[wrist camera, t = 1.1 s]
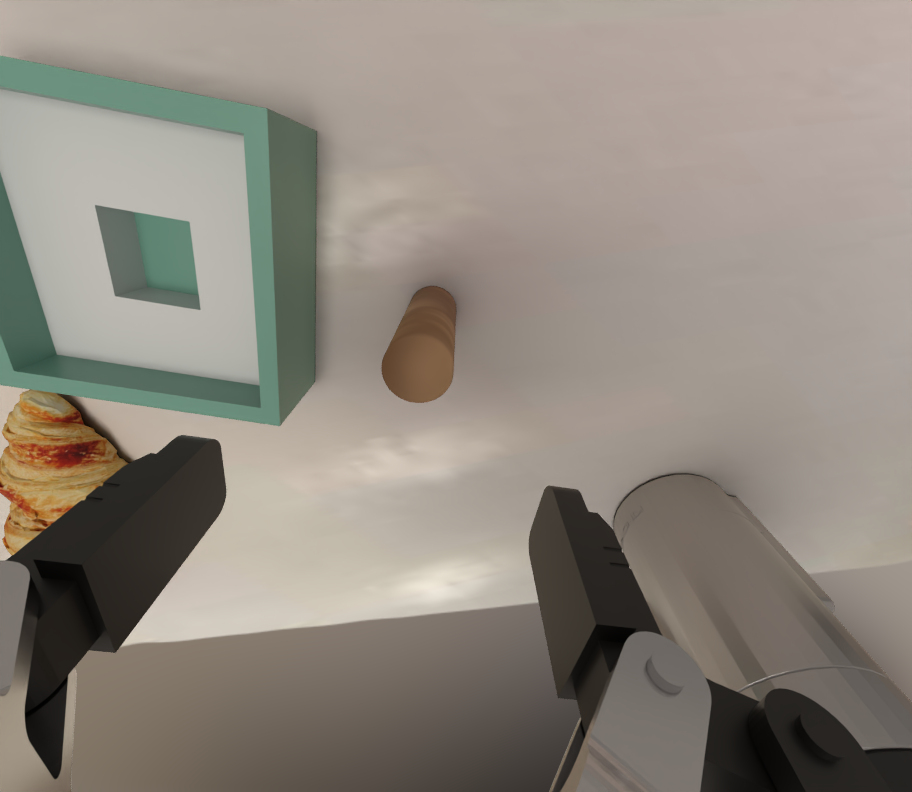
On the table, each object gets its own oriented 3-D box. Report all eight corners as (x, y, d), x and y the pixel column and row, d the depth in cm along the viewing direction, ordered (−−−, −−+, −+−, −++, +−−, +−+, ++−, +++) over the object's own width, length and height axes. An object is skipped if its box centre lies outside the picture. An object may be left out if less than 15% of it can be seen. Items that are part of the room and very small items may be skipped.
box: (316, 131, 21) (267, 108, 16) (314, 381, 28) (279, 426, 22) (20, 73, 20) (-140, 27, 15) (92, 347, 27) (0, 384, 21)
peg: (459, 290, 25) (458, 343, 16) (452, 335, 26) (447, 407, 17) (412, 282, 25) (384, 330, 16) (407, 328, 26) (378, 396, 17)
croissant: (58, 362, 31) (-103, 402, 25) (121, 385, 27) (-55, 440, 21) (152, 556, 40) (52, 621, 34) (211, 596, 36) (108, 680, 30)
